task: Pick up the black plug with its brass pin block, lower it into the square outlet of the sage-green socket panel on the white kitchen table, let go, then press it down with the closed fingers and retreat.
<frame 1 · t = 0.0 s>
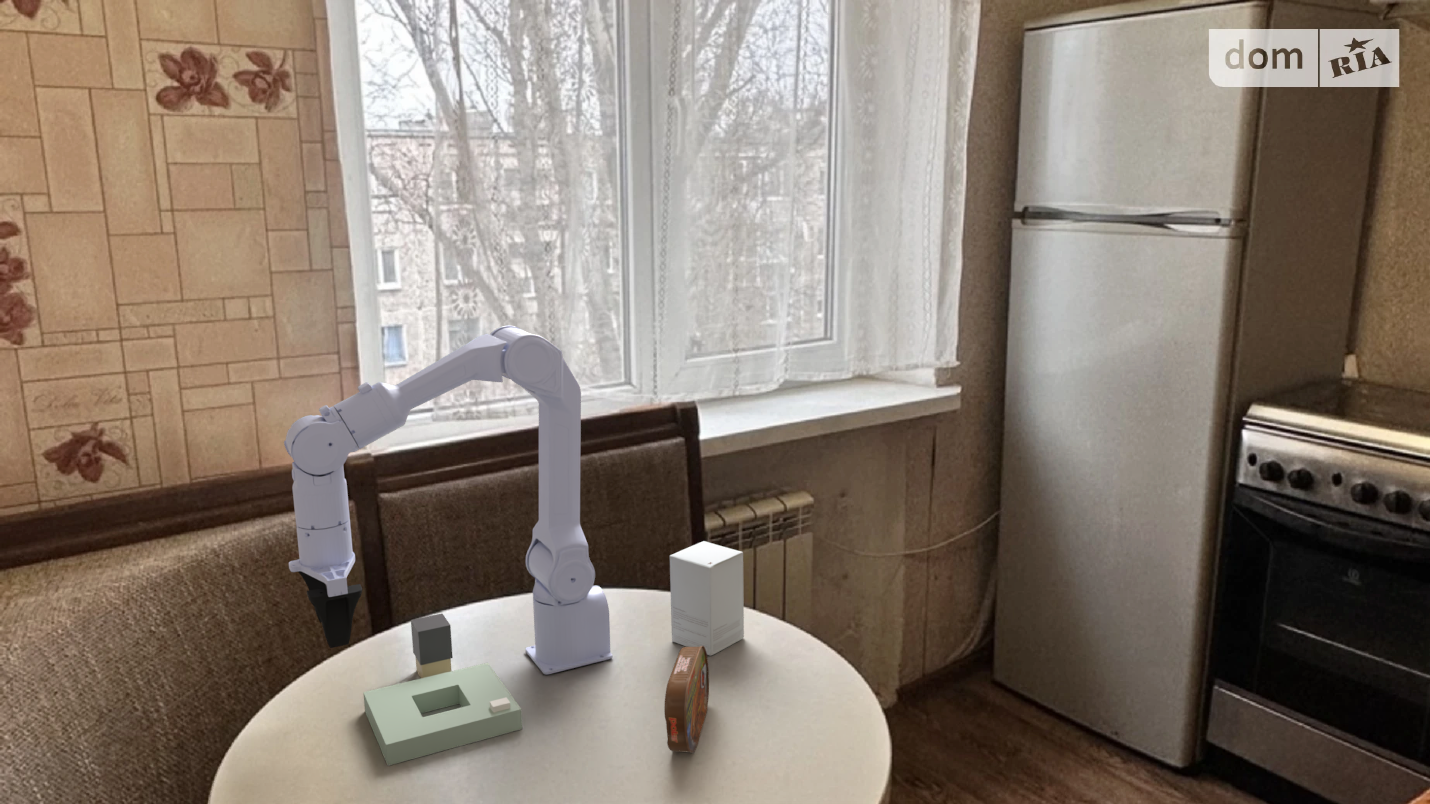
hand: (333, 632, 117), 10 cm above the table, fingers open, 7 cm apart
plug: (434, 673, 128), on the table
supplement box: (707, 641, 137), on the table
tin: (688, 731, 114), on the table
socket panel: (442, 720, 117), on the table
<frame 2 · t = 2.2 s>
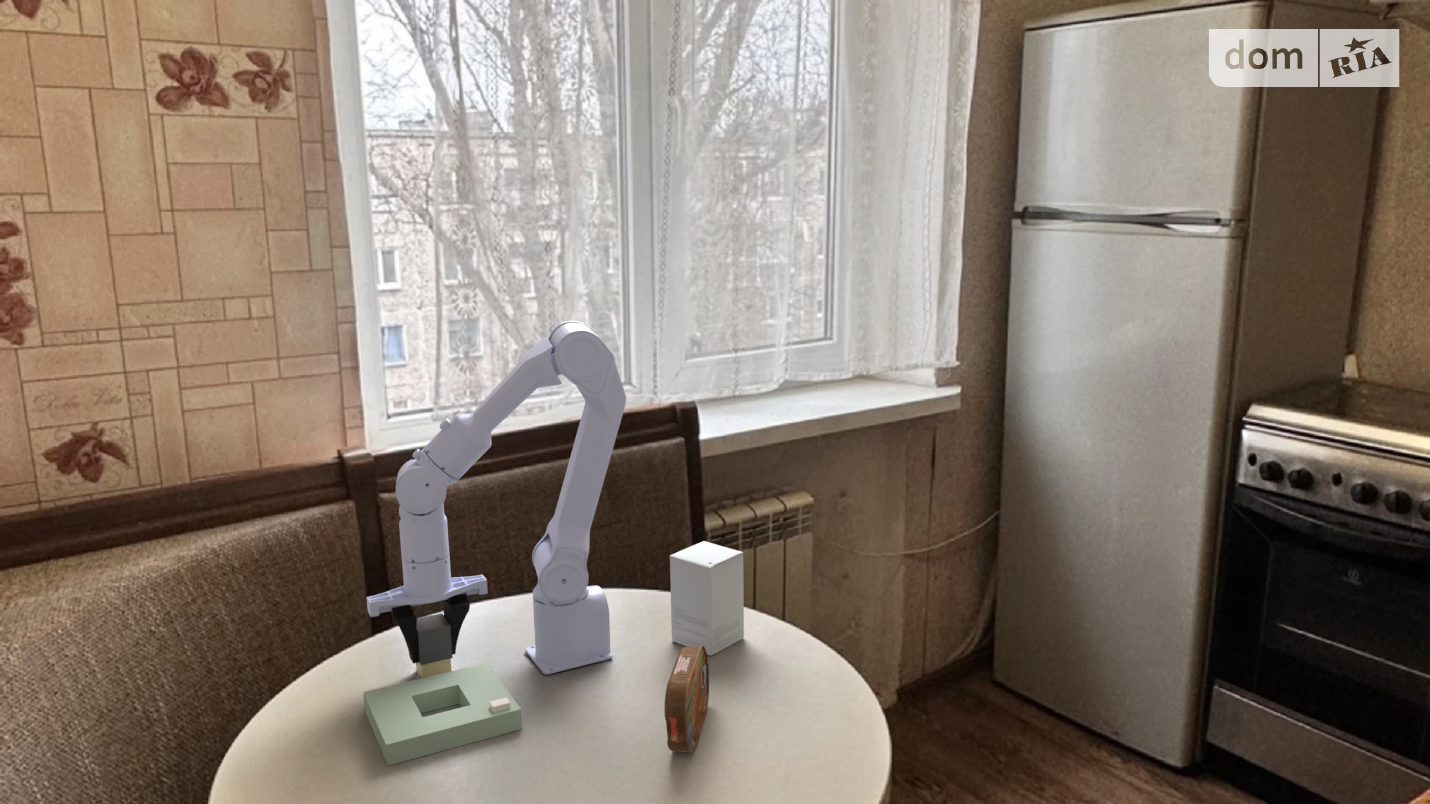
hand: (432, 655, 127), 2 cm above the table, fingers closed on plug, 4 cm apart
plug: (434, 673, 128), on the table, touching gripper
everything else where it was.
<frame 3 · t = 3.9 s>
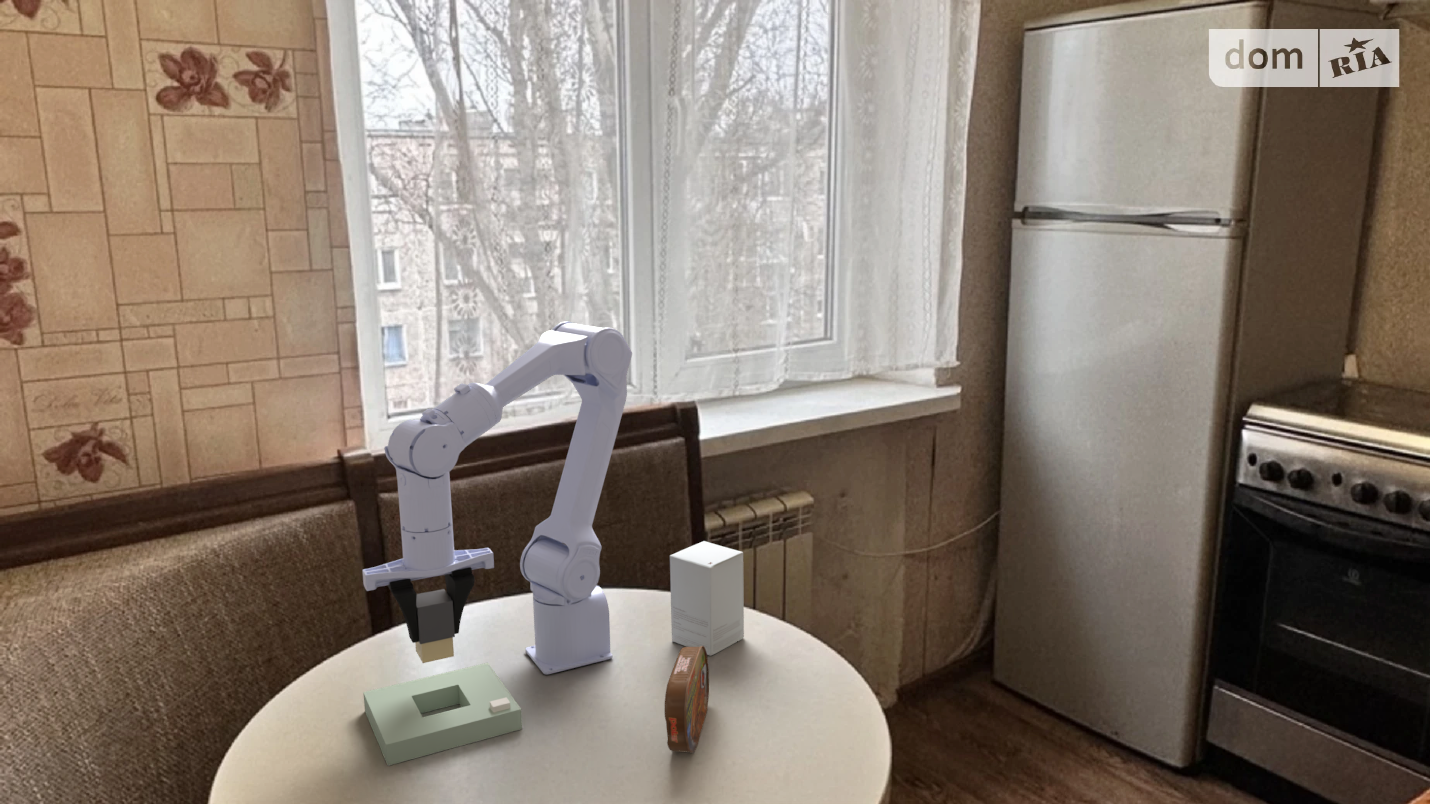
hand: (434, 634, 117), 9 cm above the table, fingers closed on plug, 4 cm apart
plug: (434, 653, 118), point 7 cm above the table, touching gripper
everything else where it was.
when the fingers open (3 cm above the table, at t = 5.7 s): plug stays where it is, resting in socket panel.
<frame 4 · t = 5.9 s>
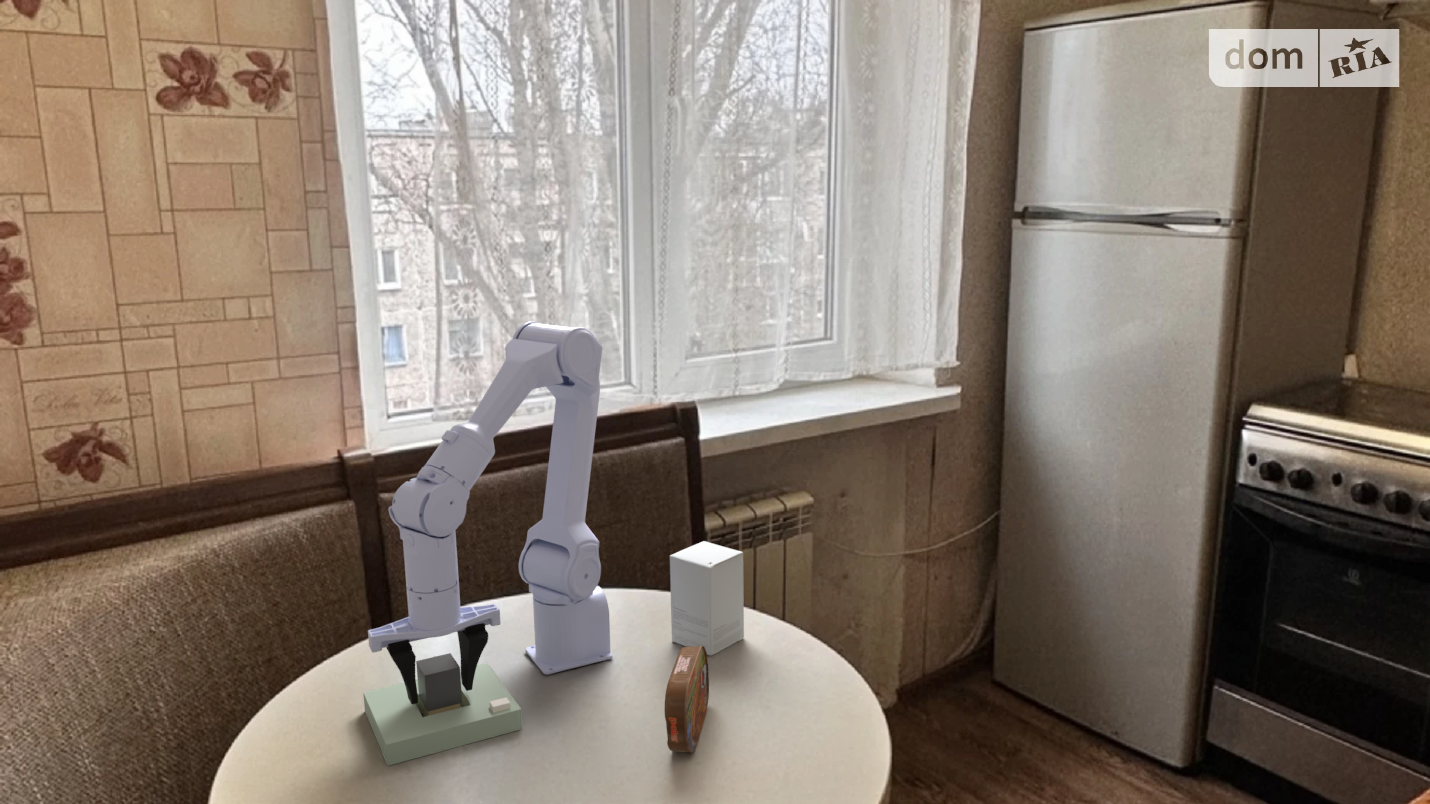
hand: (440, 693, 116), 3 cm above the table, fingers open, 6 cm apart
plug: (441, 719, 117), resting in socket panel
everything else where it was.
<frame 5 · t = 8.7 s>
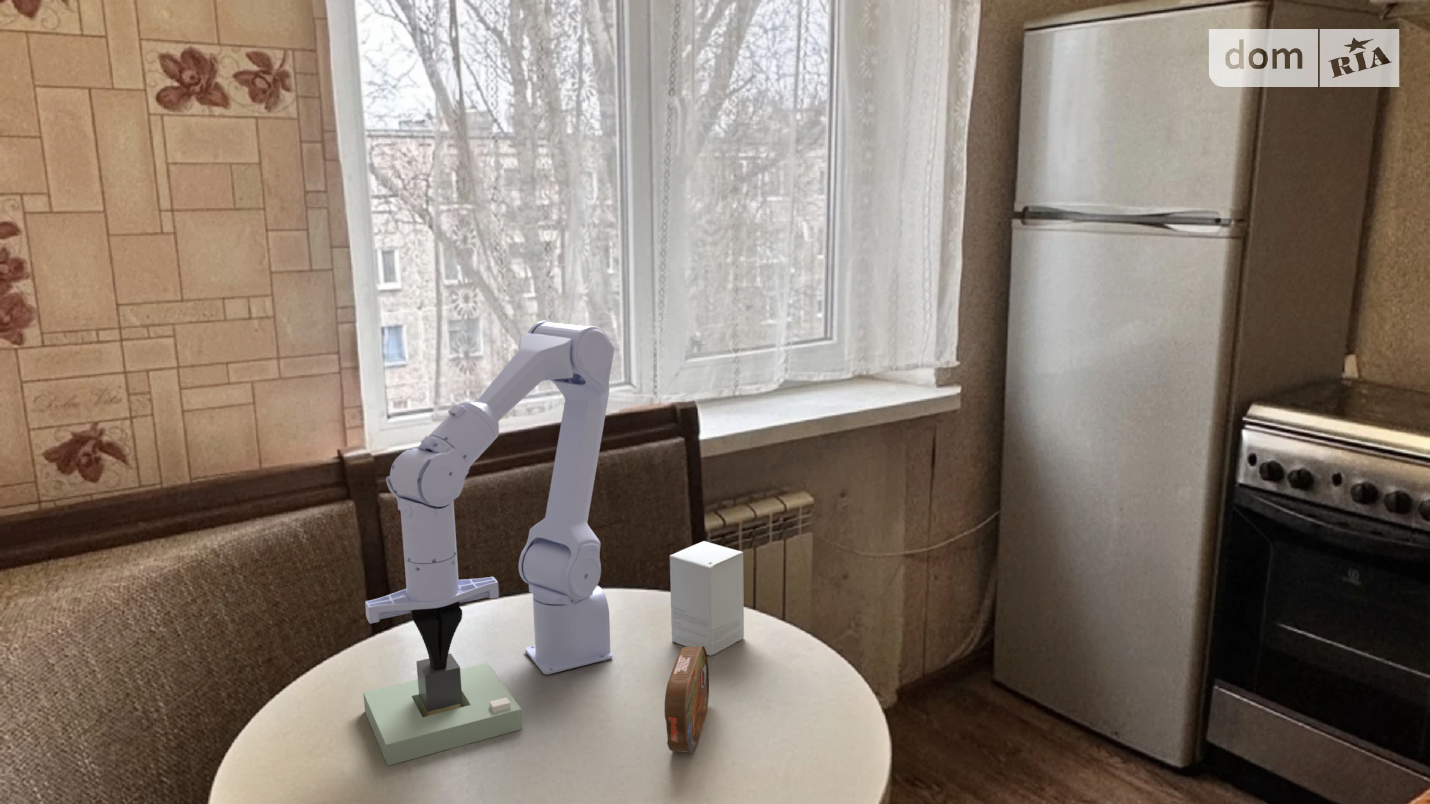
hand: (438, 666, 115), 7 cm above the table, fingers closed, pressing on plug
plug: (441, 719, 117), resting in socket panel, touching gripper
everything else where it was.
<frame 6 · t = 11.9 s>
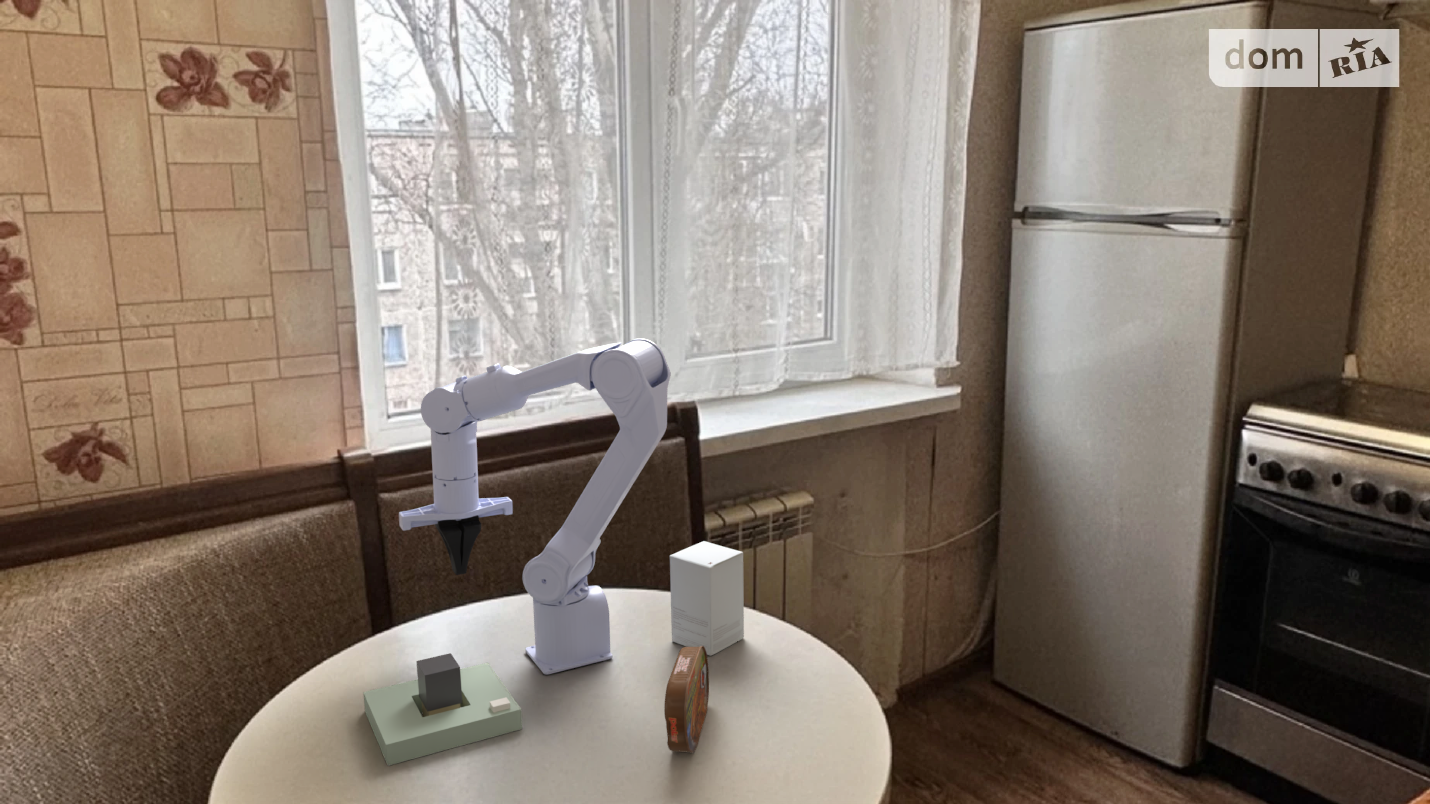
hand: (459, 571, 134), 10 cm above the table, fingers closed
plug: (441, 719, 117), resting in socket panel
everything else where it was.
at the end: plug 0.3 cm off-centre on the socket panel, point 0.0 cm above the socket panel's base; plug tilted 0°; the gripper is holding nothing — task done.
